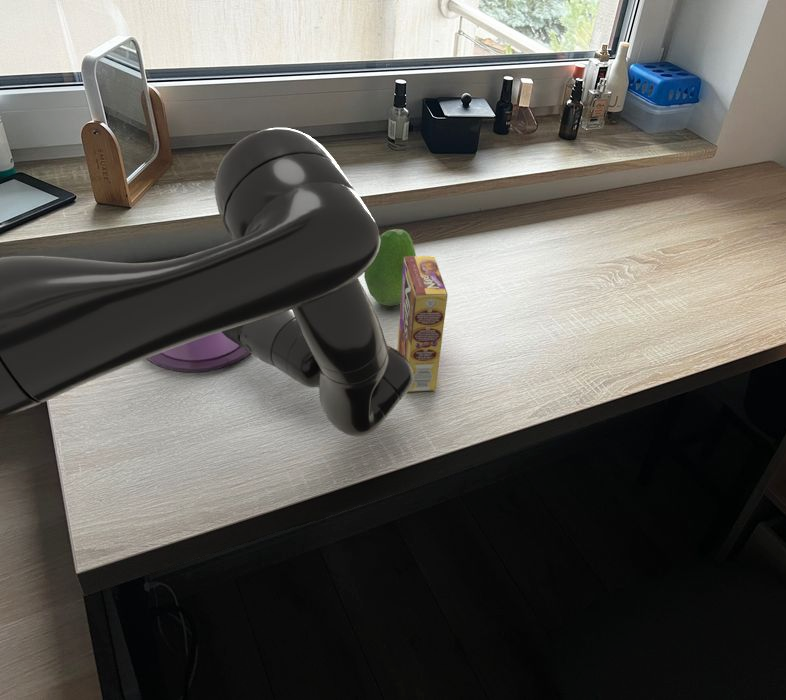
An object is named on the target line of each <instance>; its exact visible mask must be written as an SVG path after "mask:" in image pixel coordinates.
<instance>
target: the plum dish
mask: <svg viewBox="0 0 786 700" xmlns="http://www.w3.org/2000/svg"><path fill="white" fill-rule="evenodd" d="M250 354H251V353H250V352H248V351H247V350H245V349H244V348H242V347H241V346H239V345H238V344H236V343H235V342H233V341H231V340H230V339H228V338H227V337H226V336H225V335H224V334H223V333H222V332H218V333H215V334H212V335H209V336H206V337H203V338H200V339H197V340H194V341H191V342H188V343H186V344H183V345H180V346H178V347H175V348H172V349H169V350H167V351H164V352H162V353H159V354H156V355H154V356H151V357H148V358H146V360H148V361H150V362H151V363H152V364H154V365H156V366H158V367H161V368H163V369H166V370H170V371H175V372H182V373H201V372H209V371H215V370H219V369H222V368H226V367H229V366H231V365H234V364H236V363H238V362H240V361H241V360H244V359H245V358H246V357H248V356H249V355H250Z"/></svg>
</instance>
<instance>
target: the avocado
mask: <svg viewBox="0 0 786 700" xmlns="http://www.w3.org/2000/svg"><path fill="white" fill-rule="evenodd" d="M413 242H414V241H413V240H412V238H411V236H410V233H408V232H407V231H406V230H404V229H399V228H397V229H388V230H386V231H385V232H383V233H381V234H380V248H379V251H378V253H377V255H376V258H375V260H374V261H373V263H372V264H371V265H370V266H369V268H368V269H367V270H366V271H365V272H364V273H363V275H364V277H363V278H364V281H365V285H366V287H367V290H368V292H369V294H370V296H371V297H372V298H373V299H374V300H375V301H376V303H378V304H380V305H383V306H388V307H393V306H397V305H400V304H401V290H402V278H403V264H404V257H413V256H417V254H416V250H415V245H414V243H413Z"/></svg>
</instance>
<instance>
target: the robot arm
mask: <svg viewBox="0 0 786 700" xmlns="http://www.w3.org/2000/svg"><path fill="white" fill-rule="evenodd" d="M214 180H215V181H214V197H215V202H216V206H217V210H218V213H219V217H220V218H221V221H222V223H223V225H224V227H225V230H226V231H227V232H228V234H229V236H230V238H231V239H232V240H231V241H228V242H226V243H222V244H220V245H218V246H214V247H210V248H208V249H205V250H202V251H201V250H200V251H198V252H195V253H192V254H188V255H185V256H182V257H177V258H173V259H169V260H161V261H154V262H117V261H116V262H115V261H105V260H96V259H85V258H78V257H77V258H76V257H66V256H49V255H12V256H2V257H0V421H2V420H4V419H7V418H9V417H11V416H14V415H16V414H19V413H22V412H23V411H27V410H28V409H31V408H34V407H36V406H38V405H40V404H41V403H45V402H48V401H50V400H52V399H54V398H56V397H59V396H61V395H63V394H65V393H67V392H70V391H71V390H73V389H76V388H78V387H80V386H83V385H85V384H87V383H90V382H91V381H94V380H97V379H99V378H102V377H103V376H107V375H108V374H110V373H114V372H116V371H119V370H121V369H123V368H126V367H128V366H130V365H134V364H136V363H138V362H141V361H144V360H147V358H148V357H151V356H154V355H156V354H159V353H162V352H164V351H167V350H169V349H172V348H175V347H178V346H180V345H183V344H186V343H188V342H191V341H194V340H197V339H200V338H203V337H206V336H209V335H212V334H215V333H218V332H222V333H223V334H224V335H225V336H226V337H227V338H228V339H230V340H231V341H233V342H235V343H236V344H238V345H239V346H241V347H242V348H244V349H245V350H247V351H248V352H250V354H252V355H253V356H254V357H255V358H257V359H259V360H260V361H262V362H264V363H266V364H268V365H270V366H272V367H274V368H276V369H278V370H279V371H281V372H283V373H284V374H286V376H288V377H290V378H292V379H293V380H295V381H296V382H298V384H301V385H302V386H305V387H307V388H313V389H314V388H318V396H319V401H320V405H321V409H322V410H323V412H324V415H325V417H326V418H327V420H328V421H329V423H331V425H333V427H335V429H337V430H338V431H340V432H341V433H343V434H345V435H347V436H350V437H355V438H357V437H358V438H359V437H365V436H368V435H369V436H370V435H371V434H372V433H374V432H375V431H376V430H377V429H378V428H380V426H381V425H382V423H384V421H385V420H386V419H387V417H388V416H389V415H390V414H391V413H392V412H393V410H394V409H395V408H396V407H397V405H398V404H399V403H400V401H402V399H403V398H404V397H405V396H406V395H407V393H409V392H408V390H409V389H410V387H411V386H412V383H413V379H414V375H413V370H412V367H411V365H410V363H409V362H408V360H407V359H406V358H405V357H404V356H403V355H402V354H401V353H400V352H398V351H397V349H395V348H393V347H392V346H390V345H388V343H387V341H386V337H385V335H384V331H383V328H382V325H381V322H380V319H379V316H378V314H377V313H376V310H375V308H374V306H373V304H372V302H371V300H370V299H369V298H370V297H369V296H368V295H367V293H366V290H365V288H364V287H363V285H362V284H361V283H362V282H361V281H360V279H359V278H360V277H361V276H362V275H364V274H365V271H366V270H367V269H368V268H369V266H370V265H371V264H372V263H373V261H374V260H375V258H376V255H377V253H378V251H379V248H380V236H381V233H380V230H379V227H378V225H377V223H376V220H375V219H374V218H373V216H372V214H371V212H370V210H369V208H368V207H367V206H366V203H364V201H363V200H362V198H361V197H360V195H359V194H358V193H357V191H356V190H355V188H354V187H353V184H351V183H350V180H349V179H348V178H347V177H346V175H345V174H344V172H343V171H342V168H341V167H340V165H339V164H338V163H337V161H336V160H335V159H334V158H333V156H332V155H331V153H329V152H328V150H327V149H326V148H325V147H324V146H323V145H322V144H321V143H319V142H318V141H317V140H316V139H314V138H312V137H311V136H310V135H309V134H306V133H303V132H302V131H299V130H296V129H292V128H288V127H273V128H267V129H262V130H259V131H256V132H253V133H251V134H249V135H247V136H245V137H244V138H242V139H240V140H239V141H238V142H237V143H236V144H234V145H232V147H231V148H230V149H229V150H228V152H227V153H226V154H225V155H224V156H223V158H222V160H221V161H220V164H219V166H218V168H217V171H216V175H215V178H214Z"/></svg>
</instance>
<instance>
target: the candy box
mask: <svg viewBox="0 0 786 700" xmlns="http://www.w3.org/2000/svg"><path fill="white" fill-rule="evenodd" d="M445 285H446V284H445V283H444V280H443V276H442V274H441V271H440V268H439V266H438V263H437V261H436V256H434V255H433V256H432V255H416V256H413V257H404V264H403V278H402V290H401V303H400V304H399V305H400V306H399V318H398V319H399V320H398V322H399V323H398V334H397V346H396V347H397V349H396V350H397V351H398V352H400V353H401V354H402V355H403V356H404V357H405V358H406V359H407V360H408V362H409V363H410V365H411V367H412V370H413V375H414V379H413V383H412V386H411V387H410V389H409V390H408V392H407V393H412V392H430V391H434V392H435V391H436V388H437V383H438V375H439V374H438V373H439V367H440V359H441V351H442V350H441V349H442V341H443V334H444V326H445V318H446V310H447V304H448V295H449V294H448V291H447V289H446V286H445Z"/></svg>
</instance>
